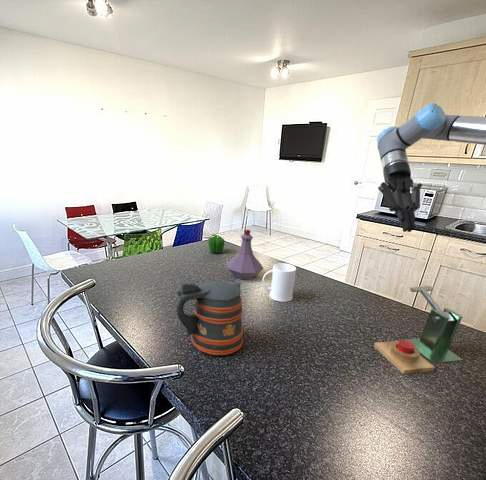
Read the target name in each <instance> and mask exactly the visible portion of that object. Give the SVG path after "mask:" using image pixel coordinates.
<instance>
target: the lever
mask: <svg viewBox="0 0 486 480" xmlns="http://www.w3.org/2000/svg"><path fill="white" fill-rule="evenodd" d="M433 289H434V287H433V286H432V285H424V286H423V285H422V286H411V287H410V288H409V290H410V292H411V293H416V292H417V293H420V294H421V295H422V296H423V298H424V299H425V300H426V302H427V303H428V305H429V306H430V307H431V309H435V310H437V311H439V312H440V313H442V314H444V315H445V316H447V317H449V319H448V322H447V324H446V326H447V325H449V324H451V323H452V322H453V321H455V320H454V319H453V318H452V317H451V315H450V314H449V313H448V312H443V311H444V310H442V308H440V306H439V305H438V303H437V302H436V301H435V300H434V298H433V297H432V296H431V294H430V293H429V292H432V291H433Z"/></svg>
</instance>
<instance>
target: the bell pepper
mask: <svg viewBox="0 0 486 480" xmlns="http://www.w3.org/2000/svg"><path fill="white" fill-rule="evenodd" d="M211 236H212V237H209V238H208V241H207V243H208V248H209V252H210V253H211V254H222V252H223V251H224V247H225V239H224V238H223V237H222V236H218V235H217V234H215V233H212V234H211Z"/></svg>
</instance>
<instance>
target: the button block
mask: <svg viewBox="0 0 486 480" xmlns="http://www.w3.org/2000/svg"><path fill="white" fill-rule="evenodd" d="M399 341H400V340H391V341H379V342H378V341H377V342H374V344H373V347H374V348H375V349H376V350H377V351H378V352H379V353H380V354H381V355H382V356H383V357H384V358H385V359H386V360H388V361H389V362H390V363H391V365H393V366H394V367H395V368H396V369H397V370H398V371H399V372H401V374H402V375H408V374H417V373H427V372H434V370H435V368H436V366H435V365H433V363H432V362H430V361H429V360H428V359H427V358H425V357H424V356H423V355H422V354H421V353H420V352H419V350H418V349H417V348H416V347H415V348H414V351H413V353H412V354H407V353H404V352H401V351H400V350H398V349H397V345H398V342H399Z"/></svg>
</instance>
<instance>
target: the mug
mask: <svg viewBox="0 0 486 480" xmlns="http://www.w3.org/2000/svg"><path fill="white" fill-rule="evenodd" d="M296 273H297V267H296V266H294V265H293V264H291V263H284V262H280V263H275V264H273V266H272V269H271V270H268V271H266V272H265V273H264V274H263V277H262V281H261V282H262V285H263V287H264V288H265V289H266V290H268V291H269V294H268V296H269V298H270V299H271V300H273V301H276V302H279V303H289V302H291V301H292V300H293V299H294V298H293V293H294V286H295V281H296V280H295V279H296ZM269 274H272V275H271V283H270V286H267V285H266V284H265V278H266V277H267V275H269Z"/></svg>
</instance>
